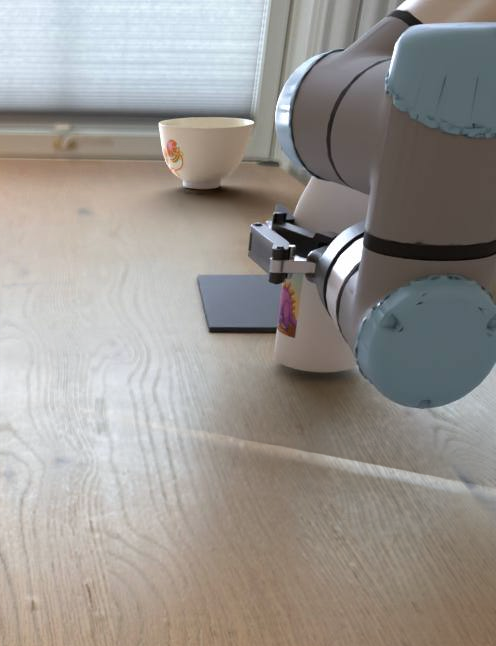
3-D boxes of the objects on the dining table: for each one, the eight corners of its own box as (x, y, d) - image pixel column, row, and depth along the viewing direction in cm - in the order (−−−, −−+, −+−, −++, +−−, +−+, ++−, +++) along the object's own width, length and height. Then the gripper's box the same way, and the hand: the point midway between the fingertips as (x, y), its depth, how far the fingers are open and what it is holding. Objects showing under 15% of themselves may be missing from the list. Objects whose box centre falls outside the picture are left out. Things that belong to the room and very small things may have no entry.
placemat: (391, 332, 97) (392, 327, 97) (208, 331, 99) (209, 327, 99) (350, 278, 116) (351, 274, 115) (196, 278, 117) (197, 274, 117)
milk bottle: (371, 355, 90) (415, 108, 78) (346, 380, 84) (389, 118, 73) (290, 343, 93) (320, 105, 82) (260, 366, 88) (289, 115, 77)
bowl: (146, 181, 178) (149, 119, 172) (232, 177, 179) (237, 115, 173) (167, 196, 164) (171, 129, 159) (260, 191, 166) (267, 125, 160)
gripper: (225, 339, 71) (205, 265, 90) (521, 340, 69) (437, 264, 88) (235, 229, 67) (212, 176, 85) (550, 226, 65) (455, 172, 83)
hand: (326, 220), depth 87 cm, fingers closed on milk bottle, 8 cm apart
